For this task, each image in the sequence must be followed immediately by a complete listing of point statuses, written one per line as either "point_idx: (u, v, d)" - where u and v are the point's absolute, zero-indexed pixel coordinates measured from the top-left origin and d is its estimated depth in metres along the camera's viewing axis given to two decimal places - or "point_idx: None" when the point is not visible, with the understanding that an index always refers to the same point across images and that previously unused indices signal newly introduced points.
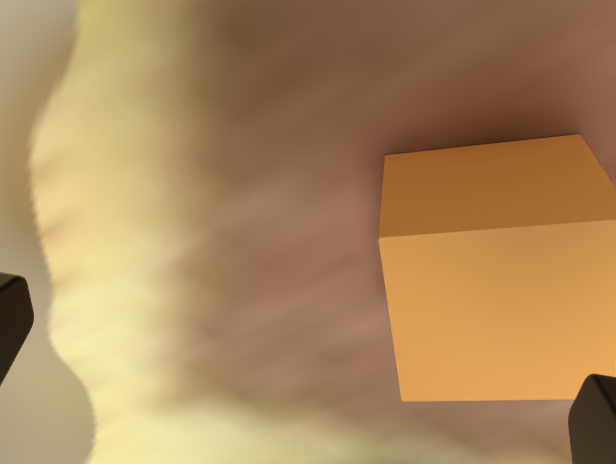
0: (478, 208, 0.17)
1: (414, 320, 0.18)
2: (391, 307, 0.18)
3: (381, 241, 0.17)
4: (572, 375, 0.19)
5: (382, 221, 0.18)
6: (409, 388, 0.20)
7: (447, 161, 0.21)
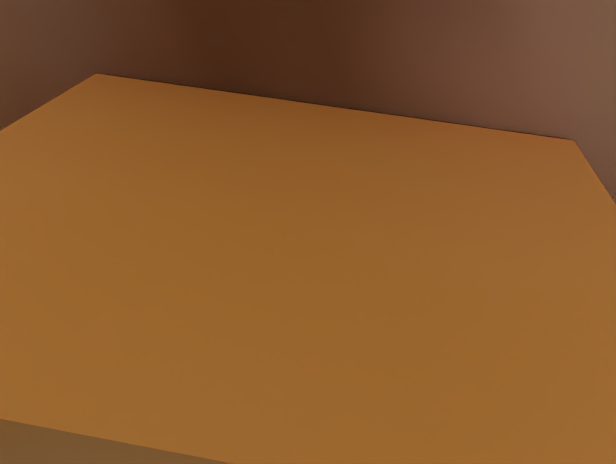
0: None
1: None
2: None
3: None
4: None
5: None
6: None
7: None
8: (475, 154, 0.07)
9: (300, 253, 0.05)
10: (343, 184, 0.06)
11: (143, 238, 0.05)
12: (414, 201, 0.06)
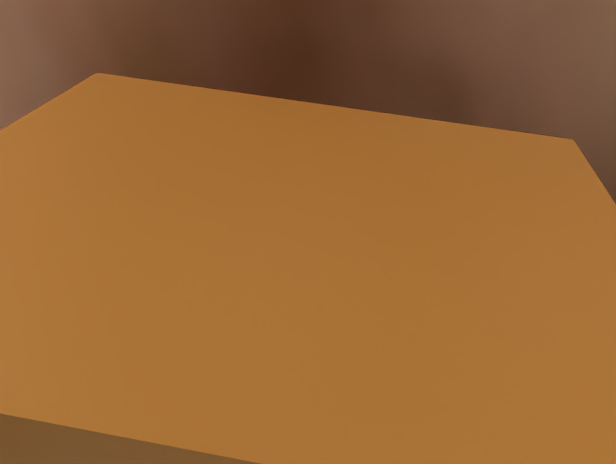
0: None
1: None
2: None
3: None
4: None
5: None
6: None
7: None
8: (475, 153, 0.07)
9: (300, 251, 0.05)
10: (343, 183, 0.06)
11: (144, 236, 0.05)
12: (415, 198, 0.06)
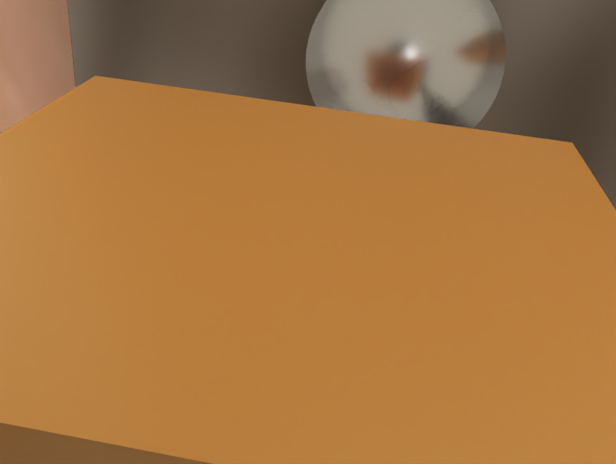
0: None
1: None
2: None
3: None
4: None
5: None
6: None
7: None
8: (473, 156, 0.07)
9: (298, 256, 0.05)
10: (342, 186, 0.06)
11: (142, 241, 0.05)
12: (412, 204, 0.06)
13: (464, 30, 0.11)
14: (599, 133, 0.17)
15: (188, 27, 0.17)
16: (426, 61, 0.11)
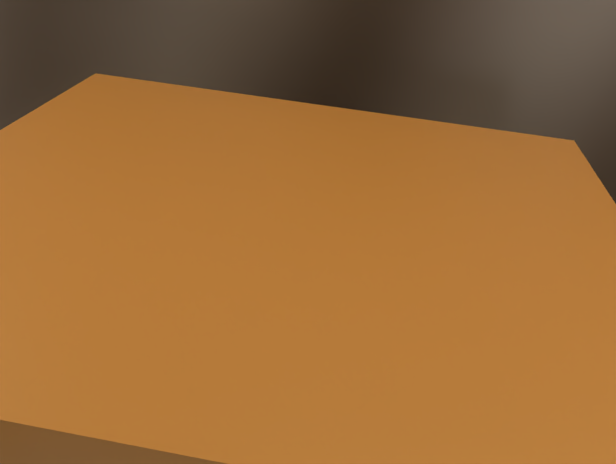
0: None
1: None
2: None
3: None
4: None
5: None
6: None
7: None
8: (475, 154, 0.07)
9: (300, 253, 0.05)
10: (343, 183, 0.06)
11: (143, 238, 0.05)
12: (414, 200, 0.06)
13: None
14: None
15: None
16: None
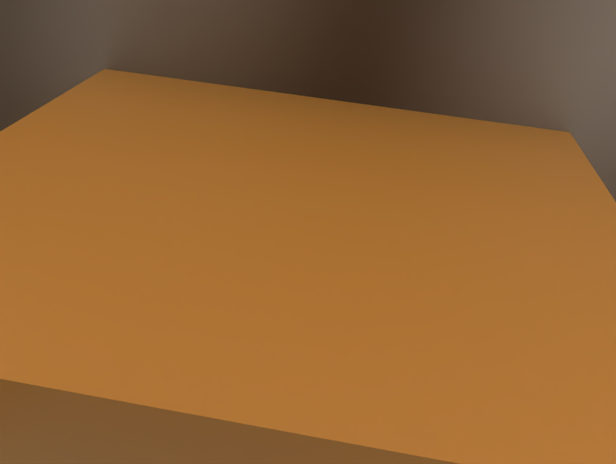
0: None
1: None
2: None
3: None
4: None
5: None
6: None
7: None
8: (474, 145, 0.07)
9: (306, 237, 0.05)
10: (346, 173, 0.06)
11: (156, 223, 0.05)
12: (415, 188, 0.06)
13: None
14: None
15: None
16: None
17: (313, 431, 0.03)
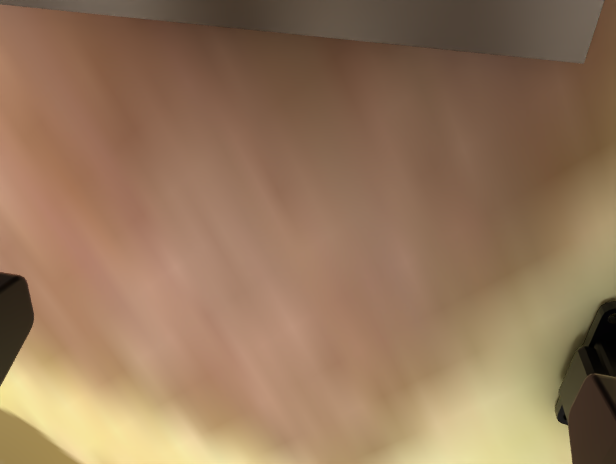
0: None
1: None
2: None
3: None
4: None
5: None
6: None
7: None
8: None
9: None
10: None
11: None
12: None
13: None
14: None
15: None
16: None
17: None
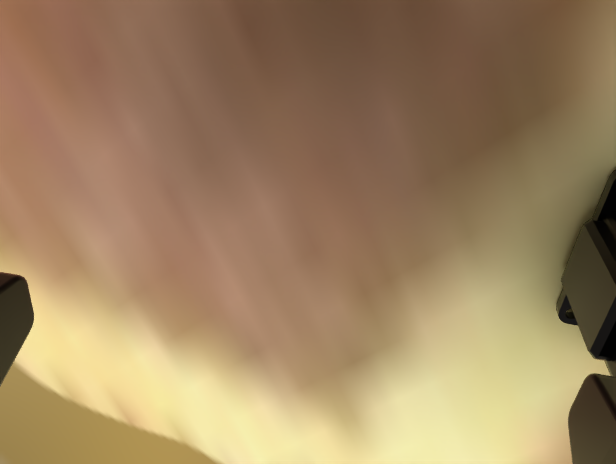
0: None
1: None
2: None
3: None
4: None
5: None
6: None
7: None
8: None
9: None
10: None
11: None
12: None
13: None
14: None
15: None
16: None
17: None
